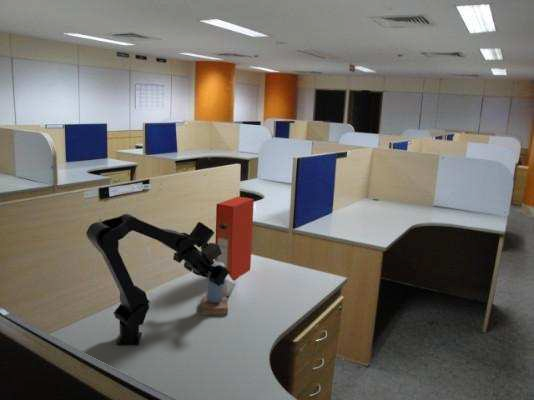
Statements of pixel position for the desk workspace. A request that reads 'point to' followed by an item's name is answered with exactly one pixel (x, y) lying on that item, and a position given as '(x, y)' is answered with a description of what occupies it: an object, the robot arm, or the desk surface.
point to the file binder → (235, 234)
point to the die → (228, 286)
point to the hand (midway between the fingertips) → (218, 280)
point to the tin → (214, 288)
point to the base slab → (214, 307)
